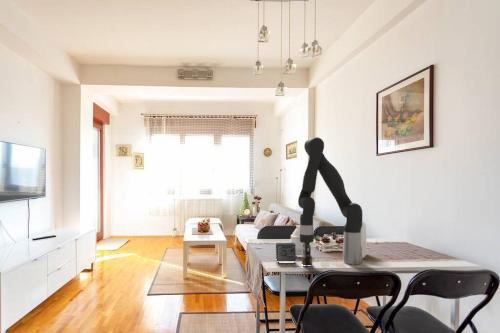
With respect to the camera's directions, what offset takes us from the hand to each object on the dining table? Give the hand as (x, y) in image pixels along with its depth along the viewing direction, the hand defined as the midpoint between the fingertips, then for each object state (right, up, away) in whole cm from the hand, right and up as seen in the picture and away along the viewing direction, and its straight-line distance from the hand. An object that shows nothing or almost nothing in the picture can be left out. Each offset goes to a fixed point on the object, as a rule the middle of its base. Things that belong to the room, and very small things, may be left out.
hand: (306, 264), depth 194 cm
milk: (+33, -1, +23) cm, 40 cm away
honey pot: (-1, -1, +25) cm, 25 cm away
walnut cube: (0, 0, 0) cm, 0 cm away
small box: (-11, -1, +7) cm, 13 cm away
